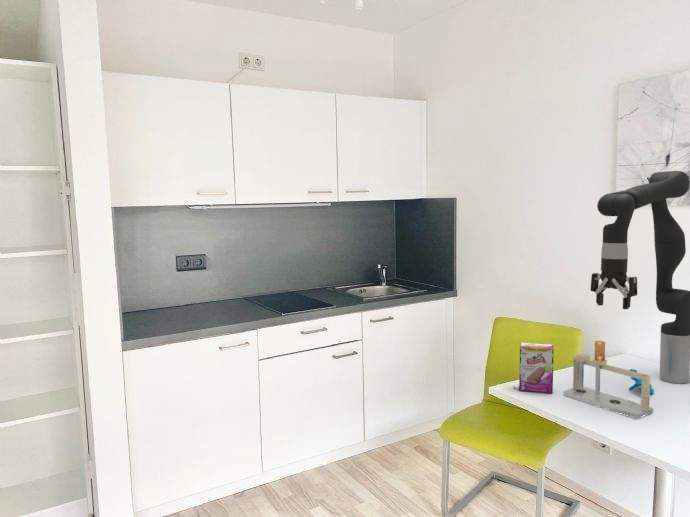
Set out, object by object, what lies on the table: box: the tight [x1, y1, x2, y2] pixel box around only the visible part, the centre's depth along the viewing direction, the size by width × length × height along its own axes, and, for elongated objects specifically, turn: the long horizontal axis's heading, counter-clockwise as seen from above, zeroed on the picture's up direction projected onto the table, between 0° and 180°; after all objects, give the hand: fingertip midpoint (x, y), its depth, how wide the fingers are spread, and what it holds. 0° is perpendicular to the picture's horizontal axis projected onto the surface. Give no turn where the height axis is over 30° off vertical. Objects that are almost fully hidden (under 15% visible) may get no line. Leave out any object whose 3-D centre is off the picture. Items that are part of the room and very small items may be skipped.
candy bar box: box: [518, 342, 555, 394], centre depth 183 cm, size 11×5×16 cm, turn 71°
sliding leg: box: [591, 340, 608, 395], centre depth 172 cm, size 3×3×18 cm
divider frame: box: [563, 353, 654, 420], centre depth 169 cm, size 9×25×14 cm, turn 31°
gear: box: [628, 368, 655, 396], centre depth 180 cm, size 11×6×10 cm
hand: (612, 307), depth 168 cm, fingers open, 8 cm apart
